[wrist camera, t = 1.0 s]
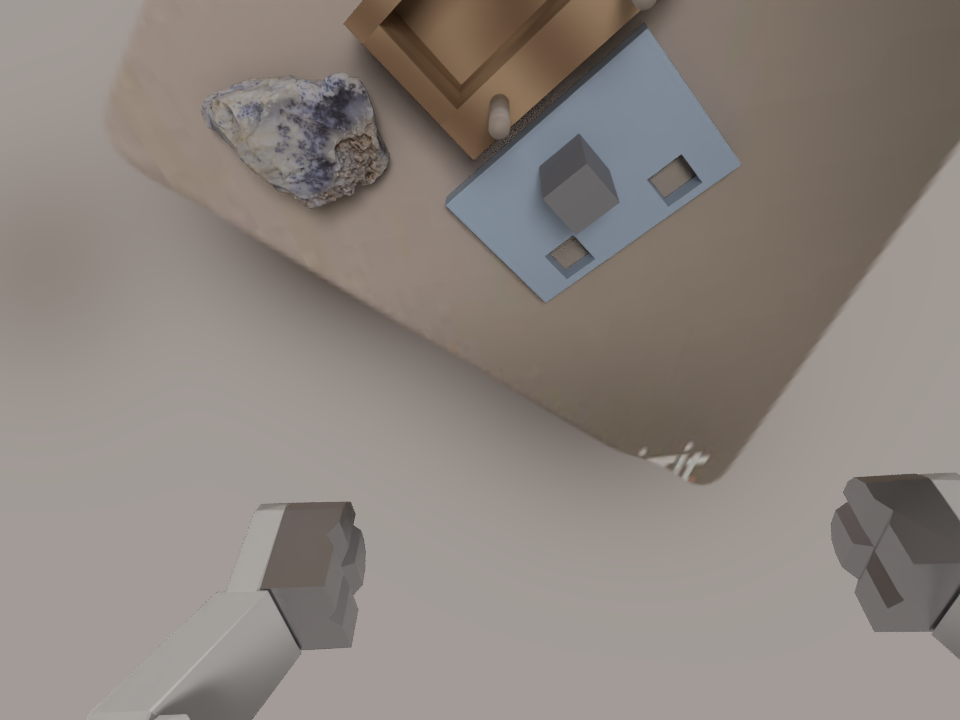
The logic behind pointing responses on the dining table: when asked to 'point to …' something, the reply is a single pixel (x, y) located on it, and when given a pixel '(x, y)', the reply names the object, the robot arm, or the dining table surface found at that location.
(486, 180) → the grey peg base plate
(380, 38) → the wooden box with pegs
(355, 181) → the mineral specimen
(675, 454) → the dining table surface
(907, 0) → the dining table surface
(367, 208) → the dining table surface
